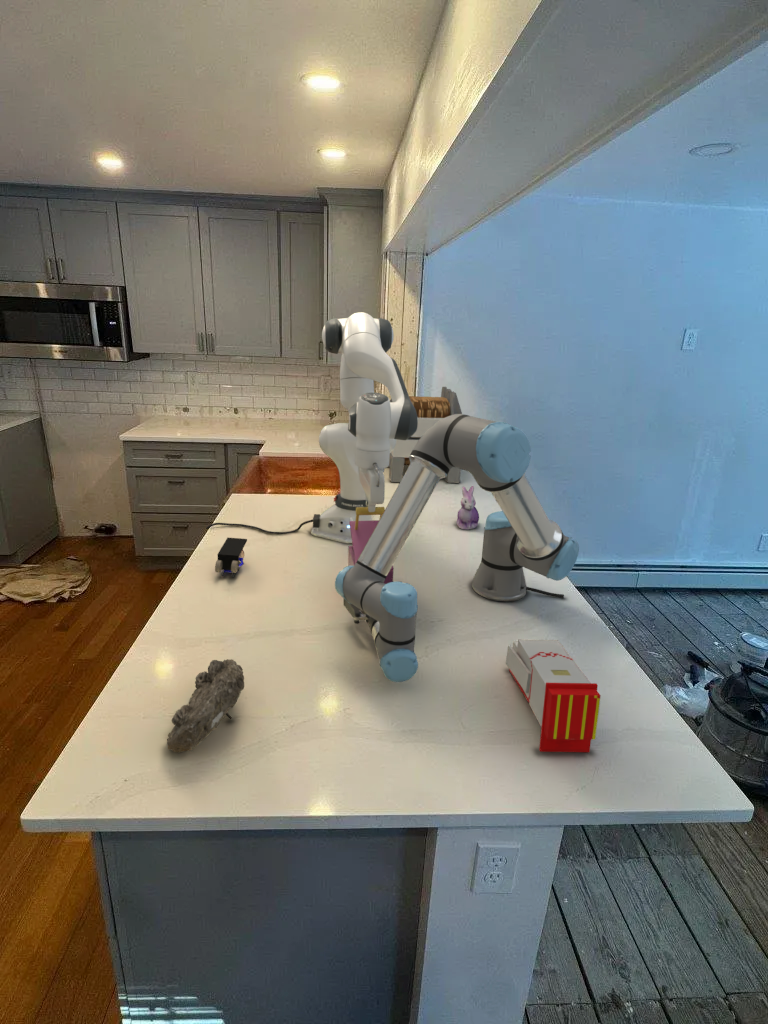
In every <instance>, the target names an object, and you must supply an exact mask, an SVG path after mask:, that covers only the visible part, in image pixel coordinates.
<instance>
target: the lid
mask: <svg viewBox="0 0 768 1024" xmlns="http://www.w3.org/2000/svg"><path fill="white" fill-rule="evenodd" d="M385 509H386V507H384V506H375V512H369V511H368V507H356V521H350V522H349V525H350V532H351V538H352V543H351V546H353V552H354V558H355V564H356V562H357V560H358V558H359V556H360V555H361V553H362V551H363V549H364V547H365V545H366V544H367V542H368V540H369V538H370V536H371V534H372V533H373V531H374V529H375V527H376V525H377V524H378V522H379V520H380V518H381V516H382V514H383V513H384V511H385ZM359 515H373V516H379V519H378V520H377V519H376V520H373V521H359ZM394 569H395V567H394V565H393V566H392V568H391V569H390V571H393V572H394Z"/></svg>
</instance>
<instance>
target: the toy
mask: <svg viewBox="0 0 768 1024" xmlns="http://www.w3.org/2000/svg"><path fill="white" fill-rule="evenodd" d="M505 659H506V660H505V665H506V666H507V667H508V671H509V673H510V674H511V676H512V678H513V679H514V681H515V682H516V685H517V686H518V688H519V690H520V691H521V692H522V694H523V697H525V699H526V701H527V703H529V707H530V709H531V711H532V712H533V714H534V716H535V718H536V720H537V722H538V724H539V726H540V728H541V729H540V739H539V748H538V751H539V752H540V753H543V752H544V753H590V752H591V744H592V743H591V742H592V740H596V736H597V727H598V720H599V719H598V718H599V710H600V704H601V703H600V702H601V696H602V695H601V694H600V693H599V692H598V687H599V686H598V683H595V682H594V683H592V682H591V681H590V679H589V678H588V677H587V676H586V674H585V673H584V671H583V670H582V669H581V668H580V666H579V665H578V664H577V663H576V662H575V661H576V660H574V659H573V658H572V656H571V655H570V653H568V651H567V650H566V648H565V647H564V645H563V644H562V643H561V642H560V641H559V639H529V638H528V639H524V638H521V639H517V640H512V645H511V644H510V645H509V644H508V646H507V653H506V658H505Z"/></svg>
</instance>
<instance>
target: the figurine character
mask: <svg viewBox="0 0 768 1024" xmlns="http://www.w3.org/2000/svg"><path fill="white" fill-rule="evenodd" d="M247 542H248V538H240V537H226V539H225V541H224V543H223V544H222V546H221V547H220V549H219V551H218V552H217V560H216V562H215V564H214V572H215V573H221V577H222V578H224V577H225V576H226V574H227V573H230V574H231V573H232V574H231V578H234V577H235V575H236V573H237V572H239V571H240V567H242V566H243V565H244V564H245V562H244V558H245V551H244V547H245V546H246V544H247Z"/></svg>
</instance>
